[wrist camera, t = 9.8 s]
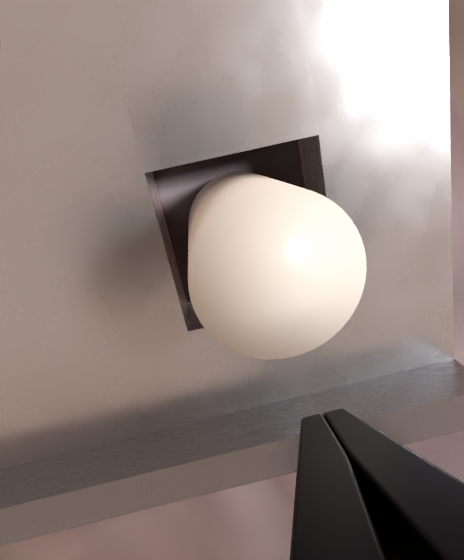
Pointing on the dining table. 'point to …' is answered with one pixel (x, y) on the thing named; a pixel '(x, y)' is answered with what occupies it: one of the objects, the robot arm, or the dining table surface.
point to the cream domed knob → (271, 265)
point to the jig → (160, 256)
